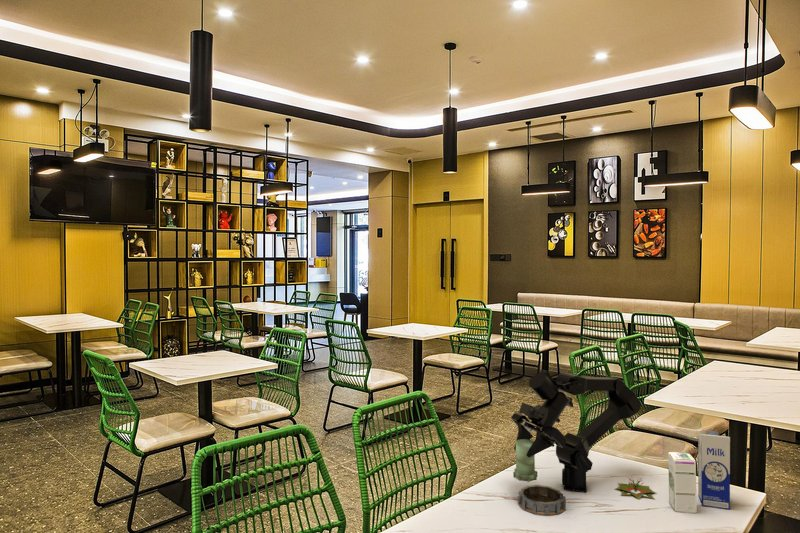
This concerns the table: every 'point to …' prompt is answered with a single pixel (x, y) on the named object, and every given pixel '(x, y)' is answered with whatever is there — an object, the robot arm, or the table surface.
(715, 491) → the milk carton
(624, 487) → the lily flower
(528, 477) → the green marbled cylinder
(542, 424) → the robot arm
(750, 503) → the table surface
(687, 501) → the syrup box
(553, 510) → the gear collar
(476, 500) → the table surface
